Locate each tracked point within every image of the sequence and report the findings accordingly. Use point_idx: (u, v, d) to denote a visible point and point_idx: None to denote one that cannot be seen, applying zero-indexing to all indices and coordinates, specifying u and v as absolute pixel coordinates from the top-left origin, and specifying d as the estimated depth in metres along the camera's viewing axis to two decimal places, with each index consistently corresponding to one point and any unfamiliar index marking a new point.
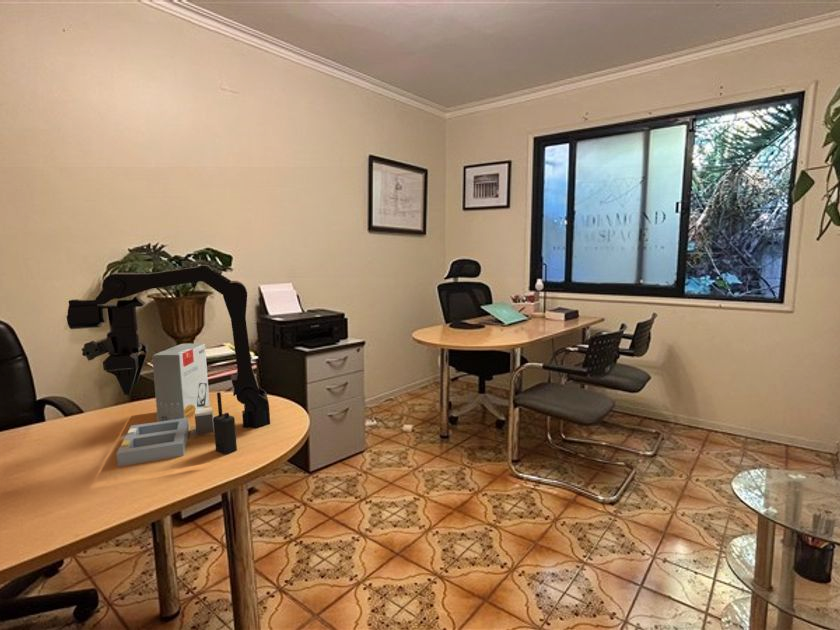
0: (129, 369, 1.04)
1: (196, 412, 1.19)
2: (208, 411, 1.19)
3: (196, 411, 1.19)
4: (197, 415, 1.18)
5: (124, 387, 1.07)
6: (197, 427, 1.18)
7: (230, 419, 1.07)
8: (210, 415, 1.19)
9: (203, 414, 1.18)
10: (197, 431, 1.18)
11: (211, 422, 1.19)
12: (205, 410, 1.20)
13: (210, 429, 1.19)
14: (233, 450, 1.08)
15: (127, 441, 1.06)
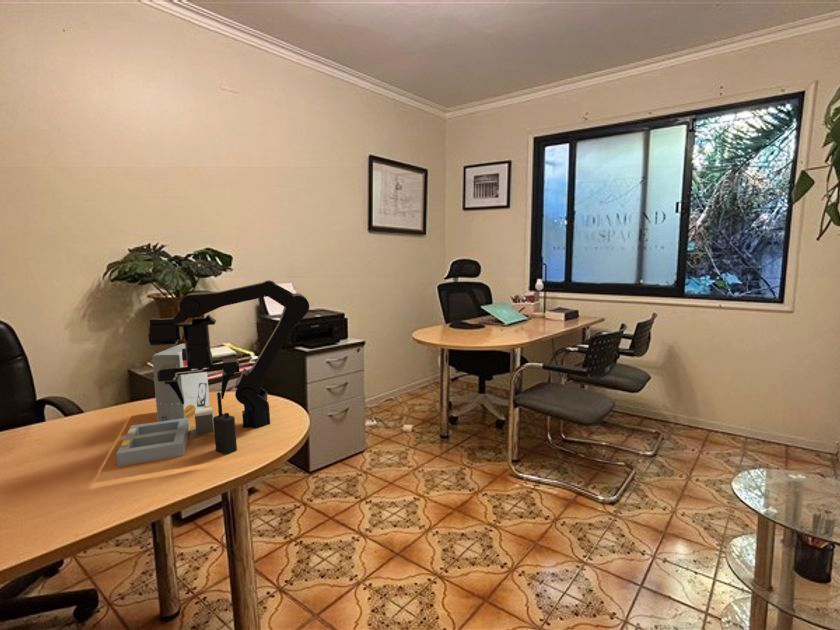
0: None
1: (196, 412, 1.19)
2: (208, 411, 1.19)
3: (196, 411, 1.19)
4: (197, 415, 1.18)
5: None
6: (197, 427, 1.18)
7: (230, 419, 1.07)
8: (210, 415, 1.19)
9: (203, 414, 1.18)
10: (197, 431, 1.18)
11: (211, 422, 1.19)
12: (205, 410, 1.20)
13: (210, 429, 1.19)
14: (233, 450, 1.08)
15: (127, 441, 1.06)
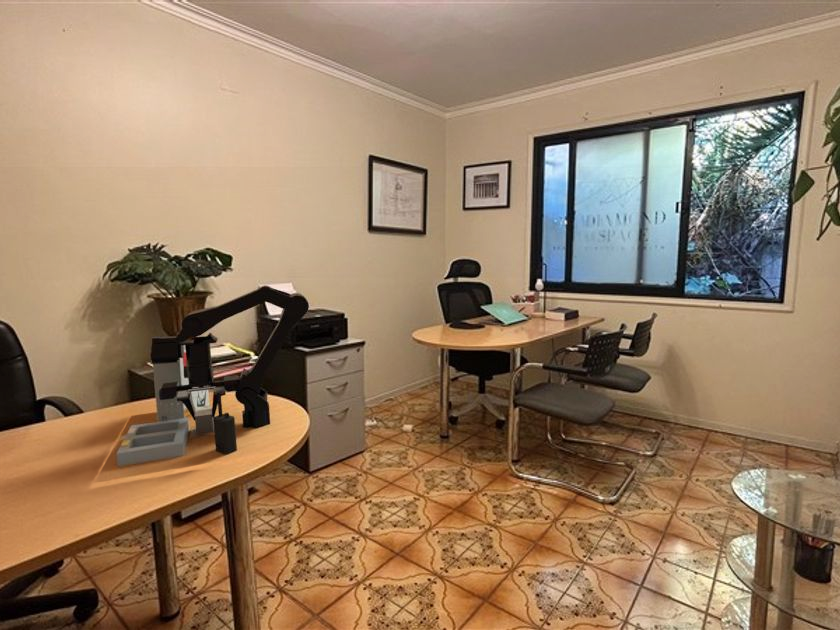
0: (177, 398, 1.15)
1: (196, 412, 1.19)
2: (208, 411, 1.19)
3: (196, 411, 1.19)
4: (197, 415, 1.18)
5: None
6: (197, 427, 1.18)
7: (230, 419, 1.07)
8: (210, 415, 1.19)
9: (203, 414, 1.18)
10: (197, 431, 1.18)
11: (211, 422, 1.19)
12: (205, 410, 1.20)
13: (210, 429, 1.19)
14: (233, 450, 1.08)
15: (127, 441, 1.06)
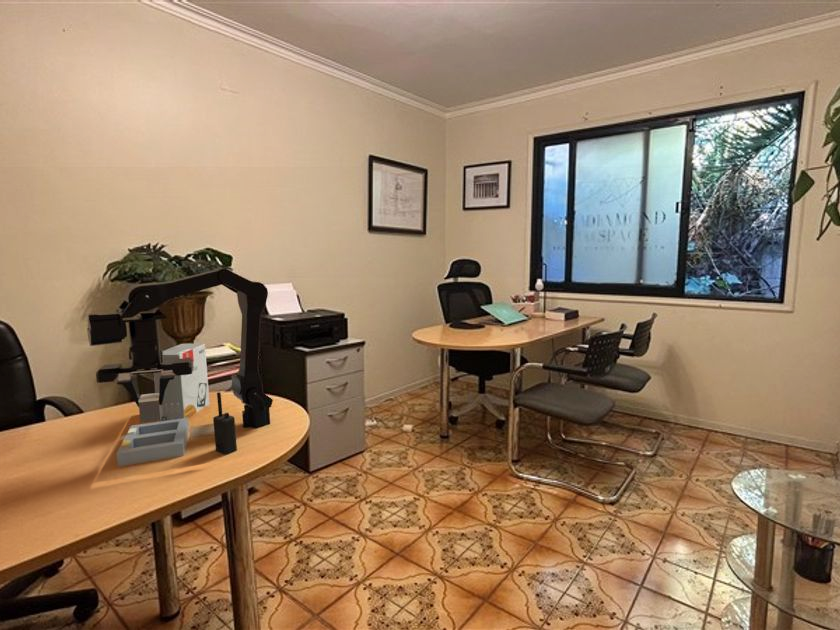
0: (118, 382, 1.02)
1: (141, 398, 1.05)
2: (155, 397, 1.06)
3: (141, 397, 1.06)
4: (141, 401, 1.04)
5: None
6: (141, 415, 1.05)
7: (230, 419, 1.07)
8: (156, 401, 1.05)
9: (148, 400, 1.05)
10: (141, 419, 1.05)
11: (158, 409, 1.06)
12: (152, 396, 1.07)
13: (156, 417, 1.06)
14: (233, 450, 1.08)
15: (127, 441, 1.06)
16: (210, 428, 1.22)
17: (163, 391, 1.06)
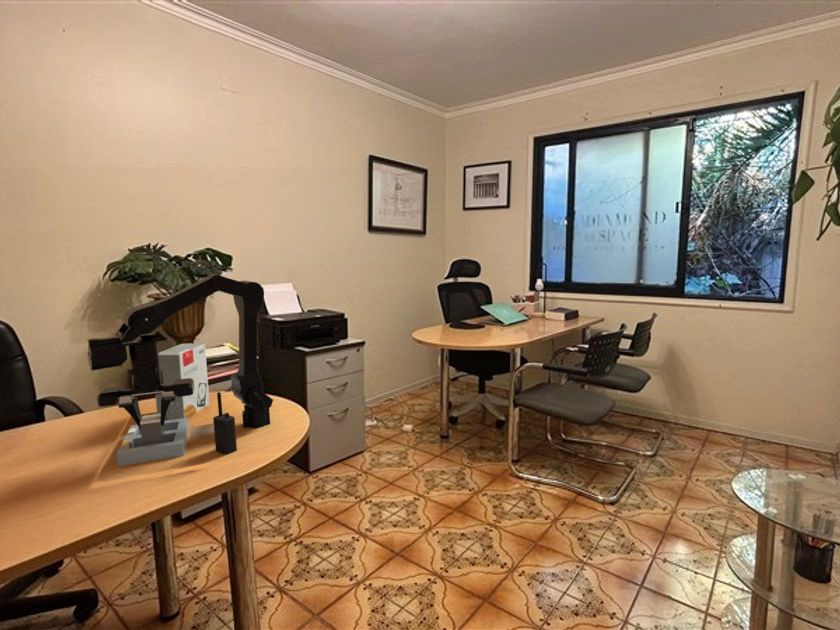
0: None
1: (142, 419, 1.06)
2: (156, 418, 1.06)
3: (143, 418, 1.06)
4: (143, 423, 1.05)
5: None
6: (143, 436, 1.05)
7: (230, 419, 1.07)
8: (158, 423, 1.06)
9: (150, 422, 1.05)
10: (143, 441, 1.05)
11: (159, 431, 1.06)
12: (153, 417, 1.07)
13: (158, 438, 1.06)
14: (233, 450, 1.08)
15: (127, 441, 1.06)
16: (210, 428, 1.22)
17: (164, 412, 1.06)
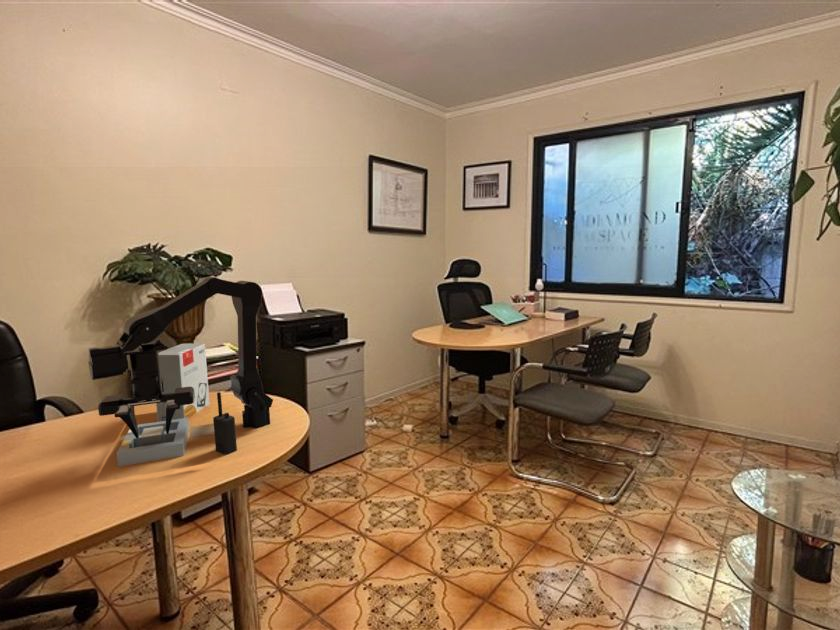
0: (115, 414, 1.03)
1: (143, 432, 1.06)
2: (157, 431, 1.07)
3: (144, 431, 1.07)
4: (144, 436, 1.05)
5: None
6: None
7: (230, 419, 1.07)
8: (159, 436, 1.06)
9: (151, 435, 1.06)
10: None
11: None
12: (154, 430, 1.07)
13: None
14: (233, 450, 1.08)
15: (127, 441, 1.06)
16: (210, 428, 1.22)
17: (169, 420, 1.07)
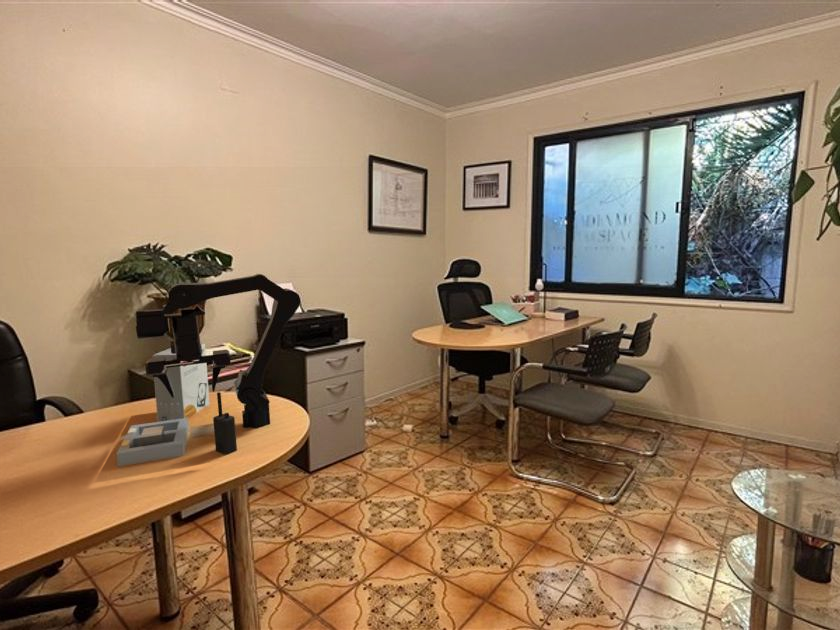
0: None
1: (143, 432, 1.06)
2: (157, 431, 1.07)
3: (144, 431, 1.07)
4: (144, 436, 1.05)
5: None
6: None
7: (230, 419, 1.07)
8: (159, 436, 1.06)
9: (151, 435, 1.06)
10: None
11: None
12: (154, 430, 1.07)
13: None
14: (233, 450, 1.08)
15: (127, 441, 1.06)
16: (210, 428, 1.22)
17: (216, 379, 1.16)
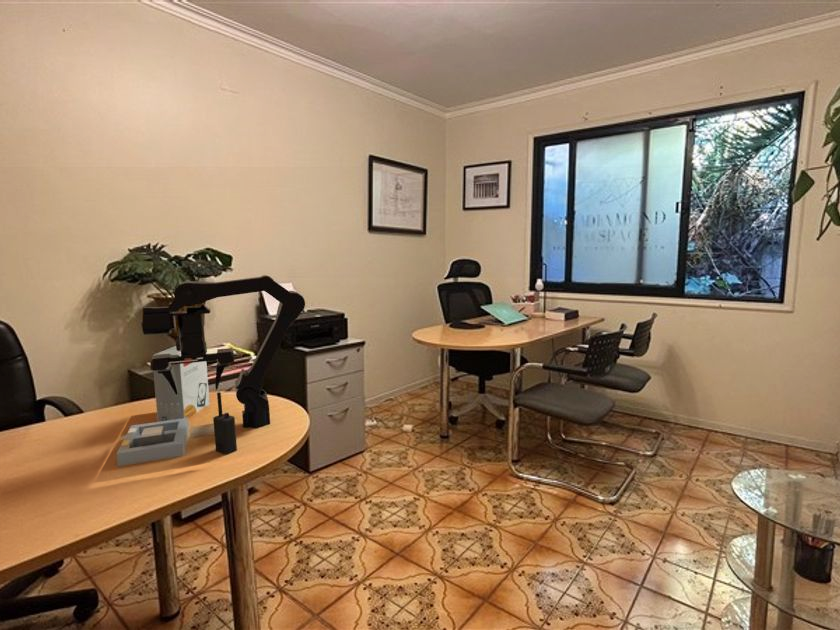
0: (158, 371, 1.12)
1: (143, 432, 1.06)
2: (157, 431, 1.07)
3: (144, 431, 1.07)
4: (144, 436, 1.05)
5: None
6: None
7: (230, 419, 1.07)
8: (159, 436, 1.06)
9: (151, 435, 1.06)
10: None
11: None
12: (154, 430, 1.07)
13: None
14: (233, 450, 1.08)
15: (127, 441, 1.06)
16: (210, 428, 1.22)
17: (219, 377, 1.17)
